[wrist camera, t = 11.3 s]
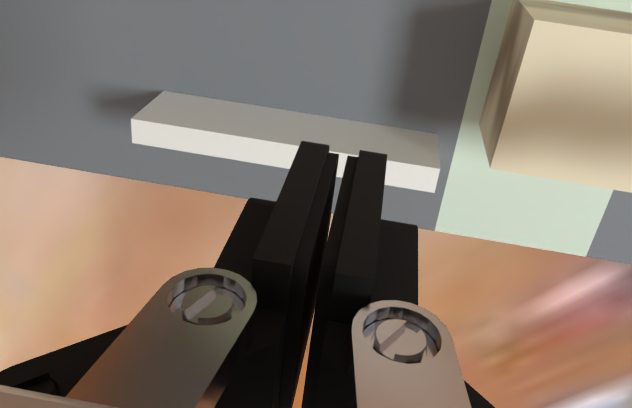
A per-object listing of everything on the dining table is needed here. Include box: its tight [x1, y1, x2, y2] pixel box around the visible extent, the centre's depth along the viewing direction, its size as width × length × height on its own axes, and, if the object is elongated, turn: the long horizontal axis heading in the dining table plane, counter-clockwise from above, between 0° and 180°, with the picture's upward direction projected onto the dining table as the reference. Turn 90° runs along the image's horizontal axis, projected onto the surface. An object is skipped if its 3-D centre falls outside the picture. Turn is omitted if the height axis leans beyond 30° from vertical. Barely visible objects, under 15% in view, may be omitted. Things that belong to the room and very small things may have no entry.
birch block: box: [479, 0, 632, 193], centre depth 24 cm, size 6×6×5 cm
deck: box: [0, 0, 632, 264], centre depth 26 cm, size 20×45×7 cm, turn 84°
